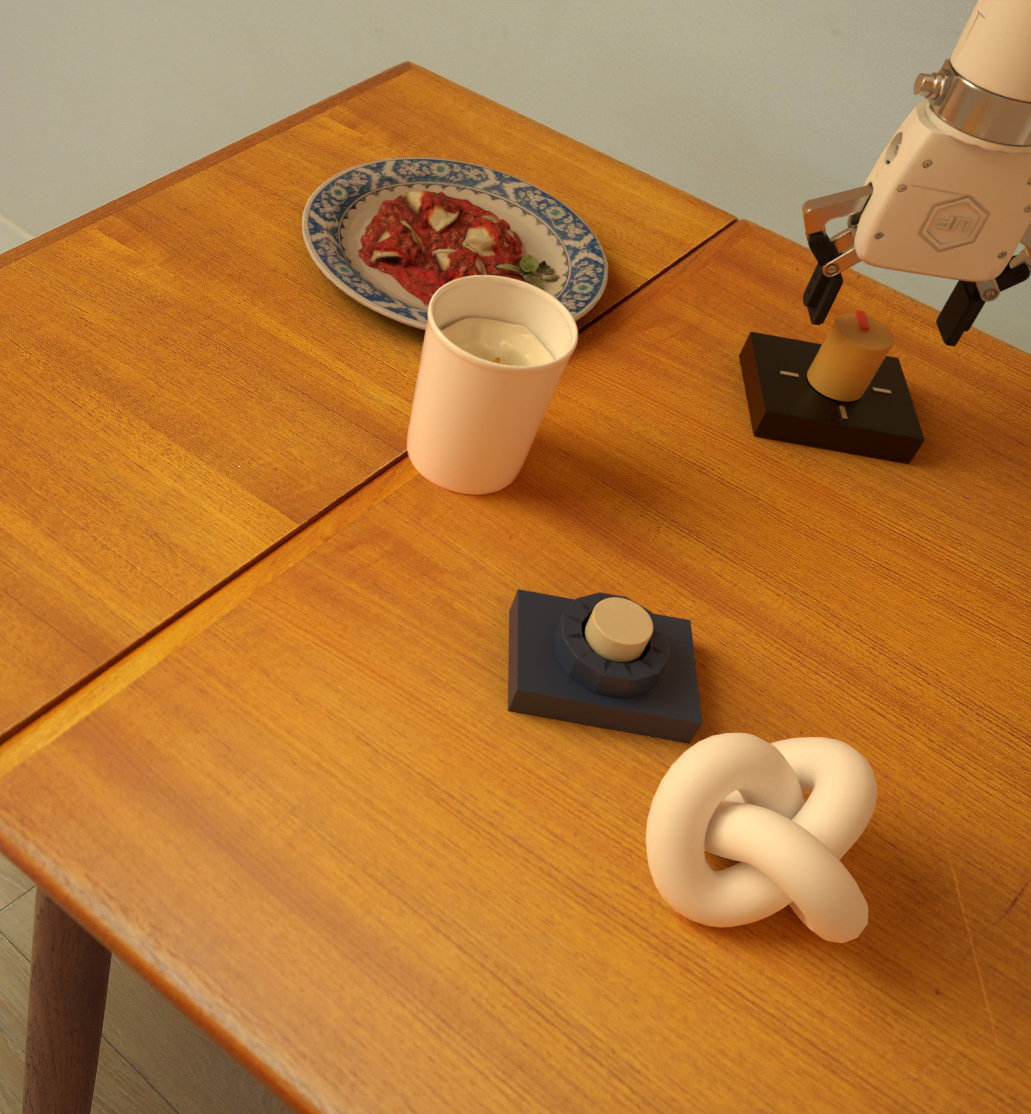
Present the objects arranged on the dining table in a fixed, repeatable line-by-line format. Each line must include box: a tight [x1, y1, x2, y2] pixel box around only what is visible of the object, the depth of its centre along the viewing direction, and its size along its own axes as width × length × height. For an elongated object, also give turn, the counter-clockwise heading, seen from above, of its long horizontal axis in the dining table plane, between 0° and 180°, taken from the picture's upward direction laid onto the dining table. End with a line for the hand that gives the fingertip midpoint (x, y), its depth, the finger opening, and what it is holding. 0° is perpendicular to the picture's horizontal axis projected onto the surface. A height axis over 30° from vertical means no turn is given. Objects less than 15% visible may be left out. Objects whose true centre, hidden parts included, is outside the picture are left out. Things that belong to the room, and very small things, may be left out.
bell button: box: [585, 597, 653, 662], centre depth 74 cm, size 4×4×2 cm
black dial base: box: [738, 331, 926, 465], centre depth 98 cm, size 12×10×3 cm
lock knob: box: [807, 309, 895, 402], centre depth 95 cm, size 4×4×5 cm
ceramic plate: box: [301, 156, 609, 331], centre depth 105 cm, size 26×26×3 cm
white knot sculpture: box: [645, 732, 878, 944], centre depth 66 cm, size 11×12×9 cm
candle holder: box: [406, 275, 579, 496], centre depth 86 cm, size 10×10×12 cm
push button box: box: [507, 588, 703, 745], centre depth 76 cm, size 11×8×4 cm
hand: (878, 324), depth 92 cm, fingers open, 9 cm apart
